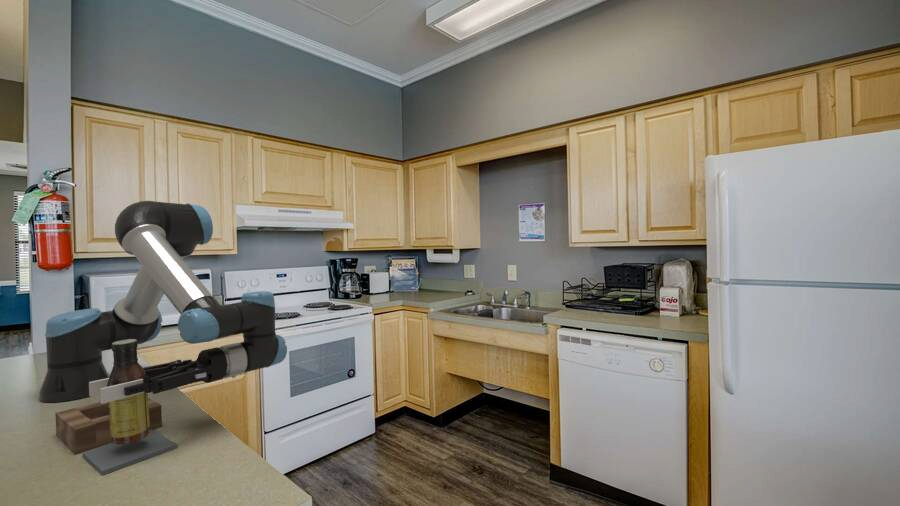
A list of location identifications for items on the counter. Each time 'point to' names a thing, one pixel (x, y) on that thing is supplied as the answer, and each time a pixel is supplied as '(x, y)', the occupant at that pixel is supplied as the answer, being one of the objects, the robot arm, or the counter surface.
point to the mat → (128, 452)
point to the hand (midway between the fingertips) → (95, 392)
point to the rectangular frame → (94, 425)
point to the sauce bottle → (132, 411)
